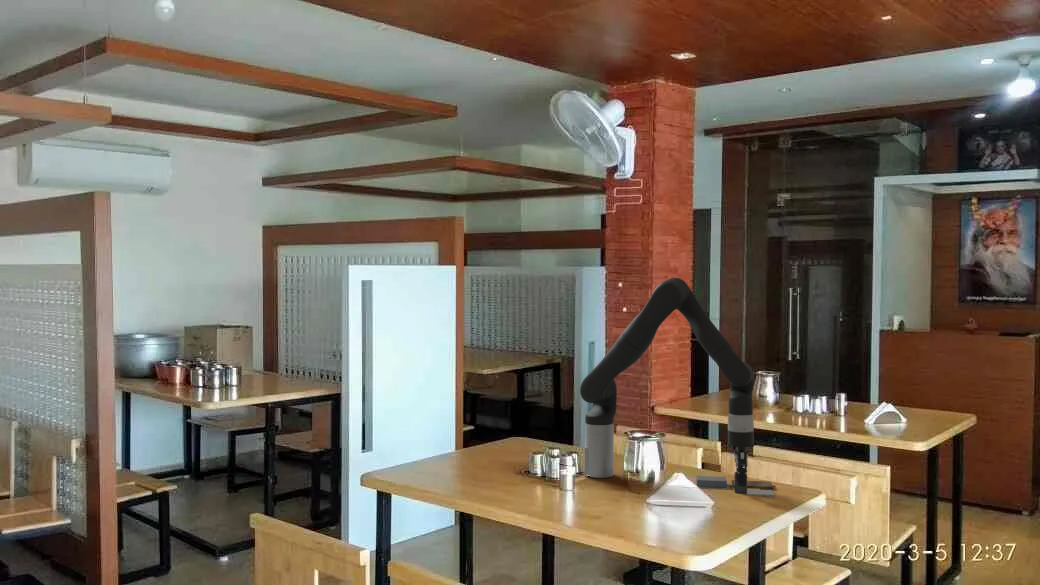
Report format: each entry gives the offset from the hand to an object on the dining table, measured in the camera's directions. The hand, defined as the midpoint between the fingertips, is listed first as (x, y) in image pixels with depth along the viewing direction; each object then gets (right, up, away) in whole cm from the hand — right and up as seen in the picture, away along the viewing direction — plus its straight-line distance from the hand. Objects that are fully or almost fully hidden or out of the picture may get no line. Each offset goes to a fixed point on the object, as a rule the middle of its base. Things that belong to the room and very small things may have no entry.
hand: (741, 482), depth 267 cm
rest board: (+5, -3, +8) cm, 11 cm away
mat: (-9, -3, +9) cm, 13 cm away
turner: (+4, -3, 0) cm, 5 cm away
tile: (-12, -2, +9) cm, 15 cm away
